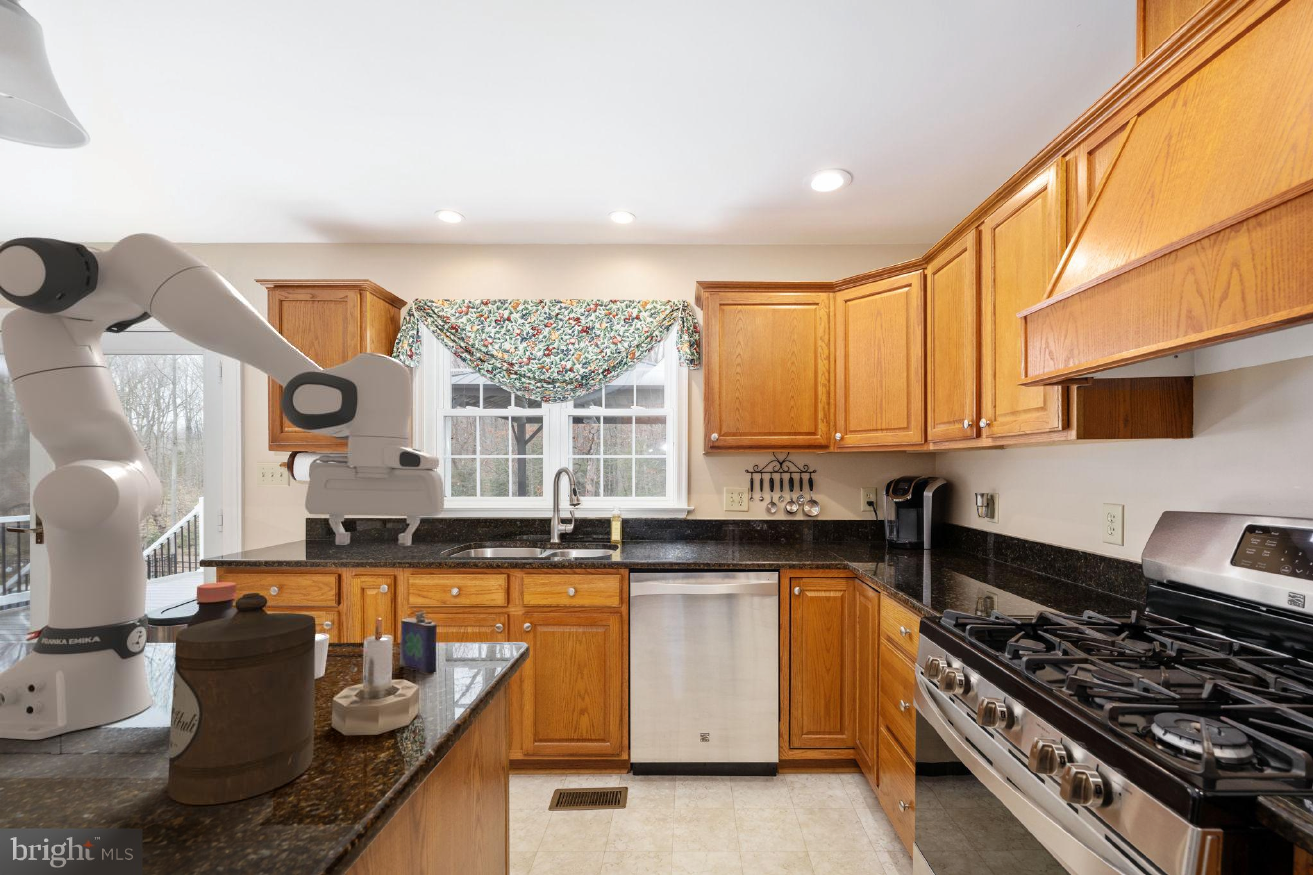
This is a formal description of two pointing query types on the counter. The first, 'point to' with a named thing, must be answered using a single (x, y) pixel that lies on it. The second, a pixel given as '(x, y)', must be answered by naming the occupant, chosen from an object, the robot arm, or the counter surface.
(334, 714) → the bead
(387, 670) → the white candle
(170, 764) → the wooden container
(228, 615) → the bottle
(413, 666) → the flask
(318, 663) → the white short cylinder
